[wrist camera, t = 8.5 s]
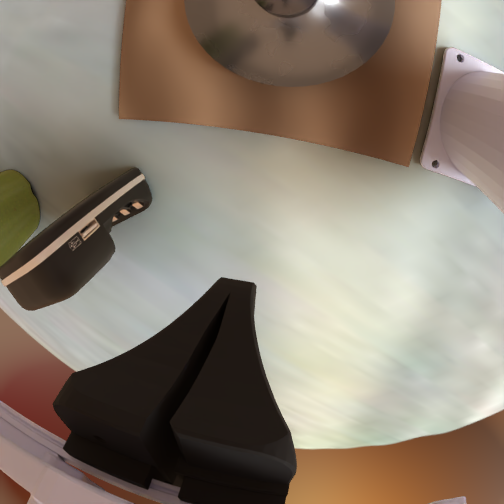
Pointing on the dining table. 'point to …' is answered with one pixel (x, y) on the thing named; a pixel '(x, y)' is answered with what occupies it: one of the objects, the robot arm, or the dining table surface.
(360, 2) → the crank handle wheel
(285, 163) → the dining table surface
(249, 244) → the dining table surface
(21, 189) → the plant pot
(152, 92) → the cutting board
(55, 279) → the battery charger
